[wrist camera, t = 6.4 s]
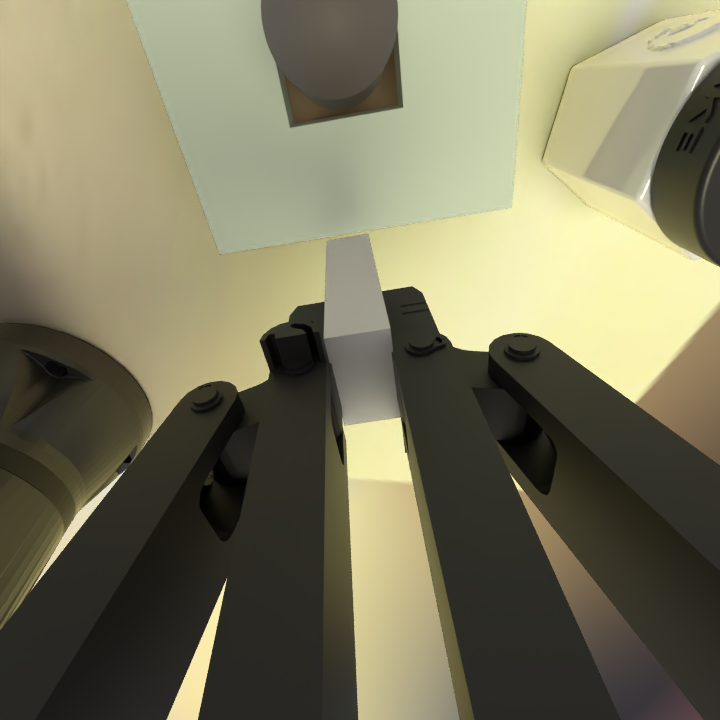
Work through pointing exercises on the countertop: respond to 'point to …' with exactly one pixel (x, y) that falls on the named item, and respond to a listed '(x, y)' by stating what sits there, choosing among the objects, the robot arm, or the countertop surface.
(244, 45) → the square plate with hole
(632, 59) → the jar
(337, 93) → the post
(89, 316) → the countertop surface
